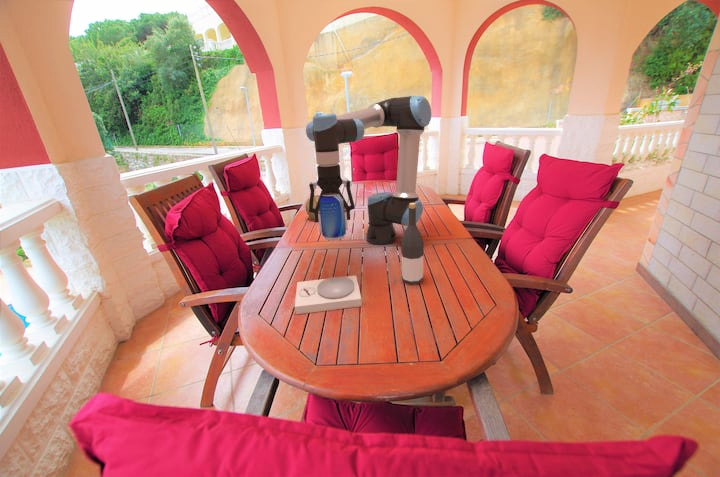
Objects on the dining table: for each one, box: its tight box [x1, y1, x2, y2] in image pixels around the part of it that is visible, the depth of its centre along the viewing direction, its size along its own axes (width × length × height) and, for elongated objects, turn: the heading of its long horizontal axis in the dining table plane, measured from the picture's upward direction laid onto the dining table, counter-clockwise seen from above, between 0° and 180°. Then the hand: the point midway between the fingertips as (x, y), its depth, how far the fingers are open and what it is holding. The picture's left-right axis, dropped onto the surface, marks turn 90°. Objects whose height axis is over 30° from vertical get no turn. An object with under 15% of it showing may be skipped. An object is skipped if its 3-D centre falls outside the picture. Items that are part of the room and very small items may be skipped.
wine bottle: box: [400, 203, 425, 286], centre depth 114 cm, size 8×8×30 cm
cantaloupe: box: [305, 194, 320, 220], centre depth 191 cm, size 15×15×15 cm
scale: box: [294, 275, 363, 315], centre depth 111 cm, size 22×16×4 cm
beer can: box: [319, 192, 347, 242], centre depth 110 cm, size 8×8×16 cm
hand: (333, 229), depth 111 cm, fingers closed on beer can, 8 cm apart
